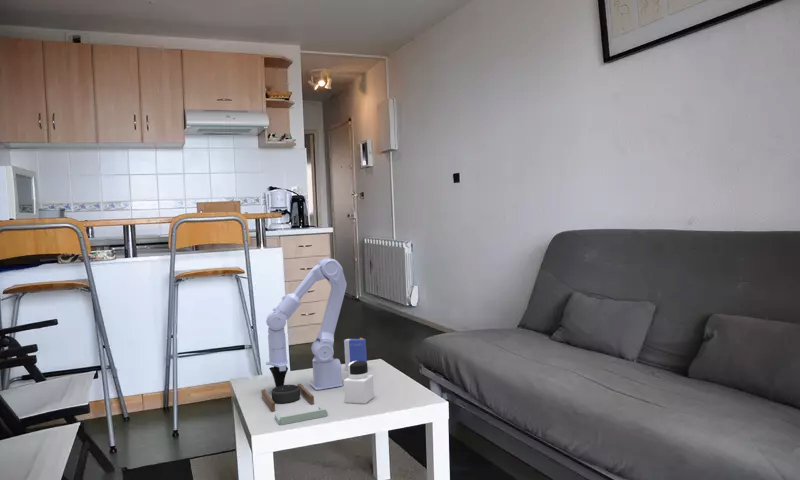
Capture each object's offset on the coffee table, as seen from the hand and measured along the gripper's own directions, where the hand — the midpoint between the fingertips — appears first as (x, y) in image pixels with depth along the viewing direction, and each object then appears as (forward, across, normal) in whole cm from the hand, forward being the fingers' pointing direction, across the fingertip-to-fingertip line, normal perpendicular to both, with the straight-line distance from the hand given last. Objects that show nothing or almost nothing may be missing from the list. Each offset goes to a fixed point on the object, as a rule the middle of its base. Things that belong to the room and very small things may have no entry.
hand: (279, 388), depth 189 cm
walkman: (+2, -14, +32) cm, 35 cm away
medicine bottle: (+2, +24, +20) cm, 31 cm away
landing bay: (+1, +30, 0) cm, 30 cm away
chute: (+1, +11, 0) cm, 11 cm away
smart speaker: (+2, +10, 0) cm, 10 cm away
